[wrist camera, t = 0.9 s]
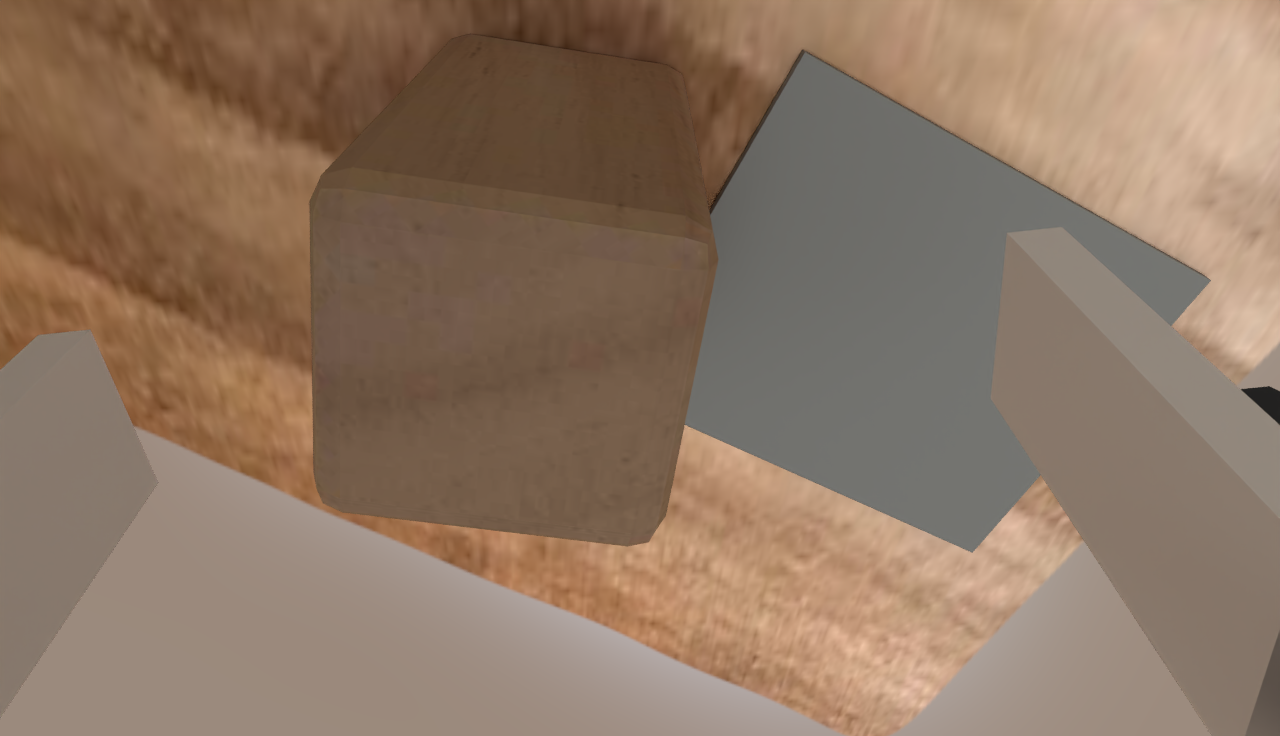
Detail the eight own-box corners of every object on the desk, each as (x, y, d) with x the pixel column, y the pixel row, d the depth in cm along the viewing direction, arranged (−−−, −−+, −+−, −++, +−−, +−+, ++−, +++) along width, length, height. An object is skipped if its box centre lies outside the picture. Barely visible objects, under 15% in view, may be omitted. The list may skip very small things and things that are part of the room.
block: (652, 281, 45) (661, 565, 27) (437, 251, 44) (303, 522, 26) (689, 63, 40) (729, 236, 22) (449, 25, 39) (295, 173, 22)
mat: (608, 384, 47) (608, 390, 47) (802, 49, 40) (805, 52, 39) (969, 545, 52) (972, 552, 52) (1203, 275, 44) (1210, 280, 44)
